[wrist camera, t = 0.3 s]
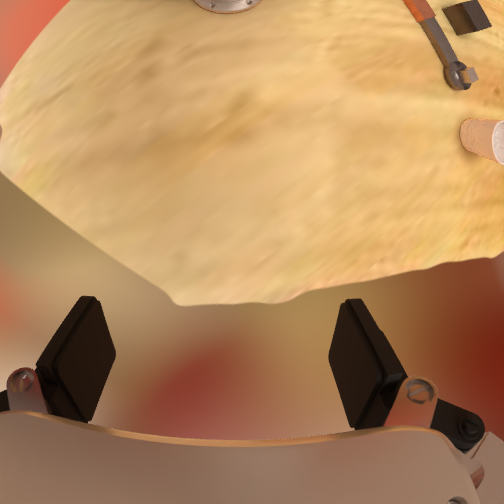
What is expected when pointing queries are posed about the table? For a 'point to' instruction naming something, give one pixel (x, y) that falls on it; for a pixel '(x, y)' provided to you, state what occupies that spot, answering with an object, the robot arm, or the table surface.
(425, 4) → the ratchet
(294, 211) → the table surface
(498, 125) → the peach tapered cup
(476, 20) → the two-tone cube
